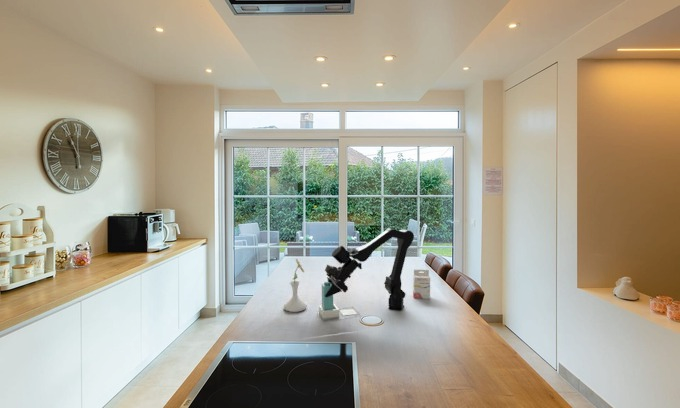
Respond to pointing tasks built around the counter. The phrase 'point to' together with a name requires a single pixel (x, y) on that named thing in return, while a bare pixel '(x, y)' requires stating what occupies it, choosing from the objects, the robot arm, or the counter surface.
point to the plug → (327, 301)
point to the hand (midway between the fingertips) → (324, 295)
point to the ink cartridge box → (421, 284)
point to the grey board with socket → (337, 313)
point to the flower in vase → (295, 296)
